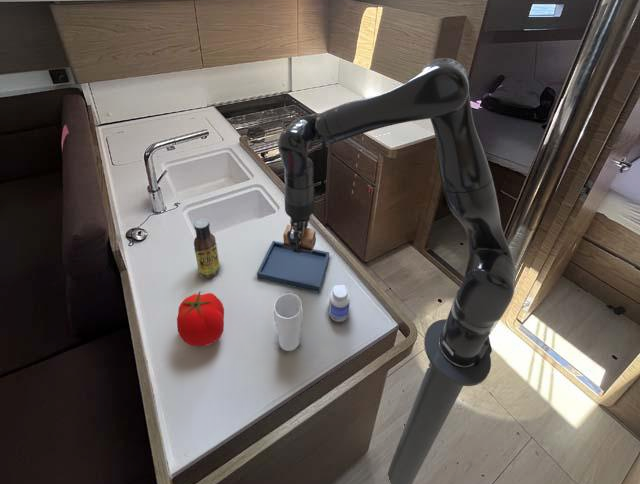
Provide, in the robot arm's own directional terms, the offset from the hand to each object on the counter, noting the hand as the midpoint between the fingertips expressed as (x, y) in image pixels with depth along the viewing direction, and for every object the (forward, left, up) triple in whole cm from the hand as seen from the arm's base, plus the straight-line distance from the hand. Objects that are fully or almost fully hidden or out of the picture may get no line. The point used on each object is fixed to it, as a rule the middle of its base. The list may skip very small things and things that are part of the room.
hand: (299, 243), depth 90 cm
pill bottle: (-13, +7, -17) cm, 22 cm away
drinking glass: (-2, +18, -16) cm, 24 cm away
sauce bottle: (+28, +3, -17) cm, 33 cm away
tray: (+3, -5, -16) cm, 17 cm away
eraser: (0, 0, 0) cm, 0 cm away
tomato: (+19, +21, -17) cm, 33 cm away
